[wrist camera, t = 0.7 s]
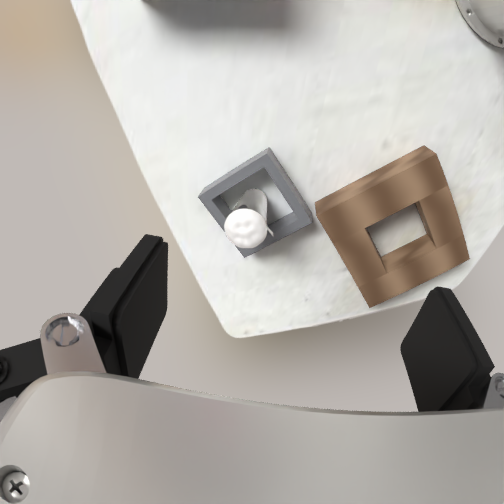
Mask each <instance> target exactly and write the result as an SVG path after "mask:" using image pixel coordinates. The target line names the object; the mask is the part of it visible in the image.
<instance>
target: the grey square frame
mask: <svg viewBox="0 0 504 504" xmlns="http://www.w3.org/2000/svg"><path fill="white" fill-rule="evenodd" d="M262 168H265V170H266V171H267V173H268V174H269V176H270V177H271V179H272V180H273V181H274V183H275V184H276V186H277V187H278V189H279V190H280V192H281V193H282V195H283V196H284V198H285V199H286V201H287V203H288V204H289V206H290V207H291V209H292V210H293V212H292V213H291V214H289V215H287V216H285V217H283V218H281V219H279V220H277V221H276V222H274V223H272V224H270V225H268V227H269V229H270V230H271V231H272V232H273V235H274V237H273V236H272V235H271V233H270V232H269V231H268V230H267V235H266V238H265V239H264V241H263V242H262V243H260V244H259V245H258V246H256V247H254V248H240V247H237V246H236V247H237V249H238V250H239V251H240V253H241V254H242V255H243V256H244V258H245V257H247V256H249V255H251V254H253V253H255V252H257V251H259V250H260V249H262V248H264V247H266V246H268V245H270V244H272V243H274V242H276V241H278V240H280V239H282V238H284V237H286V236H288V235H290V234H291V233H293V232H295V231H297V230H299V229H301V228H303V227H305V226H307V225H309V224H311V223H312V215H311V211H310V210H309V208H308V206H307V205H306V203H305V202H304V200H303V198H302V197H301V195H300V194H299V192H298V191H297V189H296V187H295V186H294V184H293V183H292V181H291V180H290V178H289V177H288V175H287V174H286V172H285V170H284V169H283V167H282V166H281V164H280V163H279V161H278V160H277V158H276V157H275V155H274V154H273V152H272V151H271V149H270V148H267V149H265V150H264V151H262V152H260V153H259V154H257V155H256V156H254V157H252V158H251V159H249V160H247V161H246V162H244V163H243V164H241V165H239V166H238V167H236V168H235V169H233V170H231V171H230V172H228V173H227V174H225V175H224V176H222V177H221V178H219V179H217V180H216V181H214V182H213V183H211V184H210V185H208V186H207V187H205V188H204V189H203V190H202V192H201V193H200V195H199V196H198V198H199V199H200V200H201V202H202V203H203V204H204V206H205V207H206V208H207V209H208V211H209V212H210V213H211V215H212V216H213V217H214V219H215V220H216V221H217V223H218V224H219V225H220V226H221V228H222V229H223V230H224V224H225V221H226V219H227V217H228V216H229V214H230V213H231V212H232V211H231V209H230V208H229V206H228V205H227V204H226V202H225V201H224V200H223V198H222V197H221V196H220V194H221V193H223V192H224V191H226V190H228V189H229V188H231V187H233V186H234V185H236V184H237V183H239V182H241V181H242V180H244V179H246V178H247V177H249V176H251V175H252V174H254V173H255V172H257V171H259V170H260V169H262ZM224 232H225V230H224Z"/></svg>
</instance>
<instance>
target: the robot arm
mask: <svg viewBox="0 0 504 504" xmlns="http://www.w3.org/2000/svg"><path fill="white" fill-rule="evenodd" d="M456 2H457V5H458V8H459V9H460V11H461V13H462V15H463V17H464V18H465V20H466V21H467V23H468V24H469V25H470V27H471V28H472V29H473V30H474V31H475V32H476V33H477V34H478V35H479V36H480V37H481V38H483V39H484V40H486V41H487V42H488V43H490V44H492V45H494V46H497V47H501V48H504V0H456ZM167 270H168V243H166V242H163V239H162V237H159V236H153V235H148V234H146V235H144V237H143V238H142V239H141V240H140V242H139V243H138V244H137V246H136V247H135V248H134V249H133V251H132V252H131V253H130V255H129V256H128V257H127V259H126V260H125V261H124V263H123V264H122V265H121V267H120V268H115V269H113V270H112V271H111V273H110V274H109V275H108V277H107V278H106V279H105V280H104V282H103V283H102V285H101V286H100V287H99V288H98V290H97V291H96V293H95V294H94V295H93V297H92V298H91V299H90V301H89V302H88V304H87V305H86V306H85V308H84V309H83V311H82V312H81V313H80V315H77V314H73V313H62V314H58V315H55V316H53V317H51V318H50V319H48V320H47V321H46V322H45V323H44V324H43V326H42V329H41V331H40V338H39V339H36V340H32V341H29V342H26V343H22V344H19V345H16V346H12V347H9V348H6V349H2V350H0V504H504V374H503V373H496V374H494V375H493V376H492V377H490V374H489V373H490V372H491V371H492V370H493V368H494V367H495V366H494V364H493V362H492V361H491V358H490V357H489V355H488V353H487V351H486V349H485V347H484V345H483V343H482V342H481V340H480V338H479V336H478V334H477V332H476V331H475V329H474V327H473V325H472V323H471V322H470V320H469V318H468V317H467V315H466V313H465V311H464V310H463V308H462V307H461V305H460V303H459V301H458V300H457V298H456V297H455V295H454V293H453V292H452V290H451V289H449V288H443V287H435V288H434V290H431V291H430V292H429V294H428V296H427V298H426V300H425V302H424V304H423V306H422V307H421V309H420V311H419V313H418V315H417V317H416V319H415V320H414V322H413V324H412V326H411V328H410V330H409V331H408V333H407V335H406V337H405V338H404V340H403V342H402V344H401V354H402V357H403V360H404V363H405V366H406V370H407V373H408V376H409V380H410V383H411V387H412V390H413V393H414V397H415V400H416V404H417V408H418V412H371V411H369V412H368V411H348V410H330V409H318V408H307V407H297V406H287V405H279V404H270V403H264V402H256V401H249V400H243V399H236V398H230V397H225V396H219V395H214V394H208V393H203V392H197V391H192V390H187V389H182V388H177V387H173V386H168V385H164V384H159V383H155V382H150V381H145V380H140V379H138V378H139V376H140V373H141V371H142V368H143V366H144V364H145V361H146V359H147V356H148V354H149V352H150V349H151V347H152V345H153V342H154V340H155V338H156V336H157V333H158V331H159V329H160V326H161V324H162V322H163V320H164V317H165V315H166V311H167Z"/></svg>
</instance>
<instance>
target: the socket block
mask: <svg viewBox="0 0 504 504" xmlns="http://www.w3.org/2000/svg"><path fill="white" fill-rule="evenodd" d="M413 203H415V204H416V207H417V209H418V212H419V214H420V217H421V219H422V222H423V225H424V227H425V230H426V233H427V234H426V235H424V236H422V237H420V238H418V239H416V240H414V241H412V242H410V243H408V244H406V245H404V246H402V247H400V248H398V249H396V250H394V251H392V252H390V253H388V254H386V255H384V256H382V257H380V255H379V253H378V250H377V248H376V246H375V244H374V242H373V240H372V238H371V236H370V234H369V232H368V230H367V229H366V227H368V226H370V225H372V224H374V223H376V222H378V221H380V220H382V219H384V218H386V217H388V216H390V215H392V214H394V213H396V212H398V211H400V210H402V209H404V208H406V207H408V206H410V205H411V204H413ZM315 208H316V216H317V218H318V219H319V221H320V223H321V224H322V226H323V228H324V229H325V231H326V233H327V234H328V236H329V238H330V239H331V241H332V243H333V244H334V246H335V248H336V249H337V251H338V253H339V254H340V256H341V258H342V260H343V261H344V263H345V265H346V267H347V268H348V270H349V272H350V274H351V275H352V277H353V279H354V281H355V282H356V284H357V286H358V288H359V290H360V291H361V293H362V295H363V297H364V299H365V301H366V302H367V304H368V306H369V308H371V307H373V306H375V305H377V304H380V303H382V302H384V301H386V300H388V299H391V298H393V297H395V296H397V295H399V294H401V293H403V292H406V291H408V290H410V289H412V288H414V287H416V286H418V285H420V284H422V283H424V282H426V281H428V280H430V279H432V278H434V277H436V276H438V275H440V274H442V273H444V272H446V271H448V270H450V269H452V268H454V267H456V266H457V265H459V264H461V263H463V262H465V261H467V260H469V259H470V258H469V254H468V250H467V246H466V242H465V238H464V235H463V231H462V228H461V224H460V221H459V217H458V214H457V211H456V208H455V204H454V201H453V198H452V195H451V192H450V189H449V186H448V184H447V181H446V178H445V175H444V172H443V170H442V167H441V165H440V162H439V159H438V157H437V154H436V153H434V152H433V151H431V150H430V149H429V148H427V147H426V146H422V147H420V148H418V149H416V150H414V151H412V152H410V153H409V154H407V155H405V156H403V157H401V158H399V159H397V160H395V161H393V162H391V163H389V164H387V165H385V166H383V167H382V168H380V169H378V170H376V171H374V172H372V173H370V174H368V175H366V176H364V177H362V178H361V179H359V180H357V181H355V182H353V183H351V184H349V185H347V186H345V187H343V188H341V189H340V190H338V191H336V192H334V193H332V194H330V195H328V196H326V197H324V198H323V199H321V200H319V201H317V202H315Z"/></svg>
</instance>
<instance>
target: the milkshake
mask: <svg viewBox="0 0 504 504" xmlns="http://www.w3.org/2000/svg"><path fill="white" fill-rule="evenodd" d="M224 230H225V234H226V236H227V238H228V239H229V240H230V241H231V242H232V243H233V244H234V245H235V246H237V247H240V248H254V247H256V246H258V245H259V244H260V243H262V242H263V241H264V239H265V238H266V235H267V230H268V231H269V232H270V233H271V235H272V236H273V237H274V235H273V232H272V231H271V230H270V229H269V227H268V226H267V198H266V196H265V194H264V192H263V191H261V190H259V189H257V188H255V189H248V190H247V191H246V192H245V193H244V194H243V195H242V196H241V198H240V199H239V201H238V203H237V204H236V206H235V207H234V209H233V210H232V212H231V213H230V214H229V216H228V217H227V219H226V221H225V224H224Z"/></svg>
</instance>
